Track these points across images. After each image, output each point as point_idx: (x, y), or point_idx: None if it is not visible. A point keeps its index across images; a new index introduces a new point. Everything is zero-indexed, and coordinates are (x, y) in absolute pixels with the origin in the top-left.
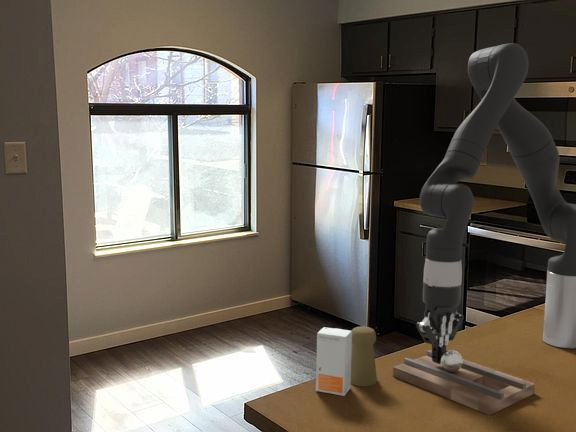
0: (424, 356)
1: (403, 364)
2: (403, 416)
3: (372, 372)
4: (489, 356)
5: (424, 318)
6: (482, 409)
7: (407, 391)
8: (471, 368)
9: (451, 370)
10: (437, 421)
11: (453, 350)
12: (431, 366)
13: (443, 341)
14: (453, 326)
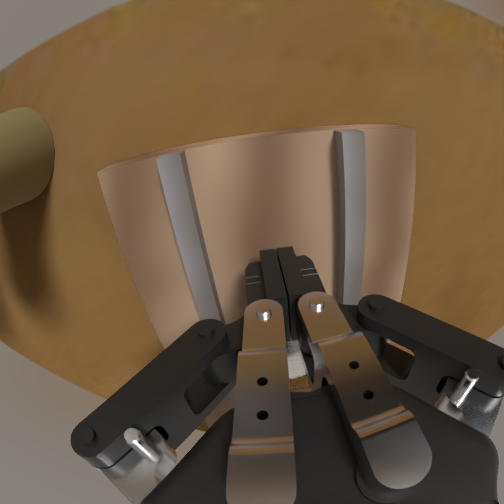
0: (313, 136)
1: (150, 167)
2: (54, 352)
3: (8, 209)
4: (500, 208)
5: (128, 499)
6: None
7: (100, 281)
8: None
9: None
10: (106, 388)
11: (298, 370)
12: (211, 289)
13: (302, 353)
14: (413, 386)
